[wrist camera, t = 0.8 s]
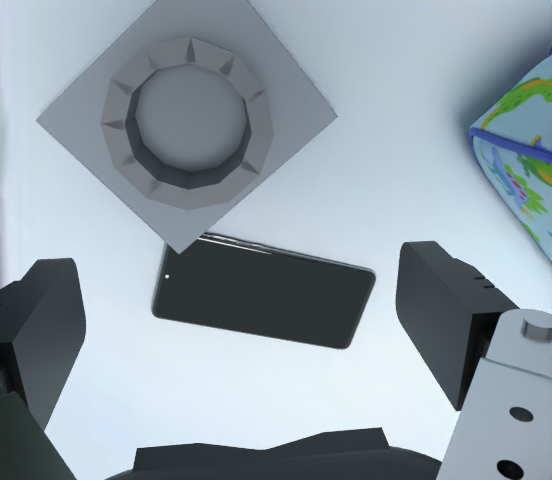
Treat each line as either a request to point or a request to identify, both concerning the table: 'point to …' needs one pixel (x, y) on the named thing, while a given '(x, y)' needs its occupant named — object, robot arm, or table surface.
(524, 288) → the table surface
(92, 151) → the square flange plate
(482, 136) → the lunch box
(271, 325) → the smartphone
